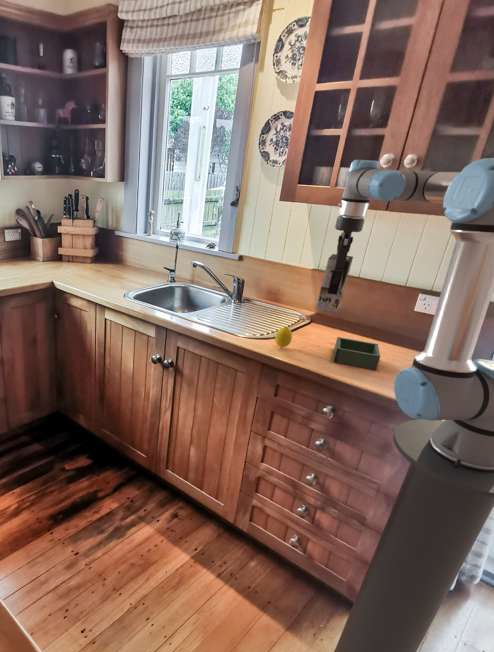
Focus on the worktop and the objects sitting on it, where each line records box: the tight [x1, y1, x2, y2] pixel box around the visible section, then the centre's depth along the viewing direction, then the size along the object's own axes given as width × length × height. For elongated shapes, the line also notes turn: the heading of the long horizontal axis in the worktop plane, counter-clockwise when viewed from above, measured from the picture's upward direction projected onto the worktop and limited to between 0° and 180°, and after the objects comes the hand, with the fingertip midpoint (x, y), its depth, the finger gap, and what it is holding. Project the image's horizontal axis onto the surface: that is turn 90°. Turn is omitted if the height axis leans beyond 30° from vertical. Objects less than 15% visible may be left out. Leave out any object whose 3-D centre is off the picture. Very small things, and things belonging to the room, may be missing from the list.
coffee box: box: [315, 253, 354, 313], centre depth 147 cm, size 9×6×16 cm
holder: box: [333, 336, 381, 371], centre depth 159 cm, size 12×13×5 cm
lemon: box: [274, 326, 293, 349], centre depth 164 cm, size 6×6×8 cm
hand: (332, 289), depth 148 cm, fingers closed on coffee box, 9 cm apart
